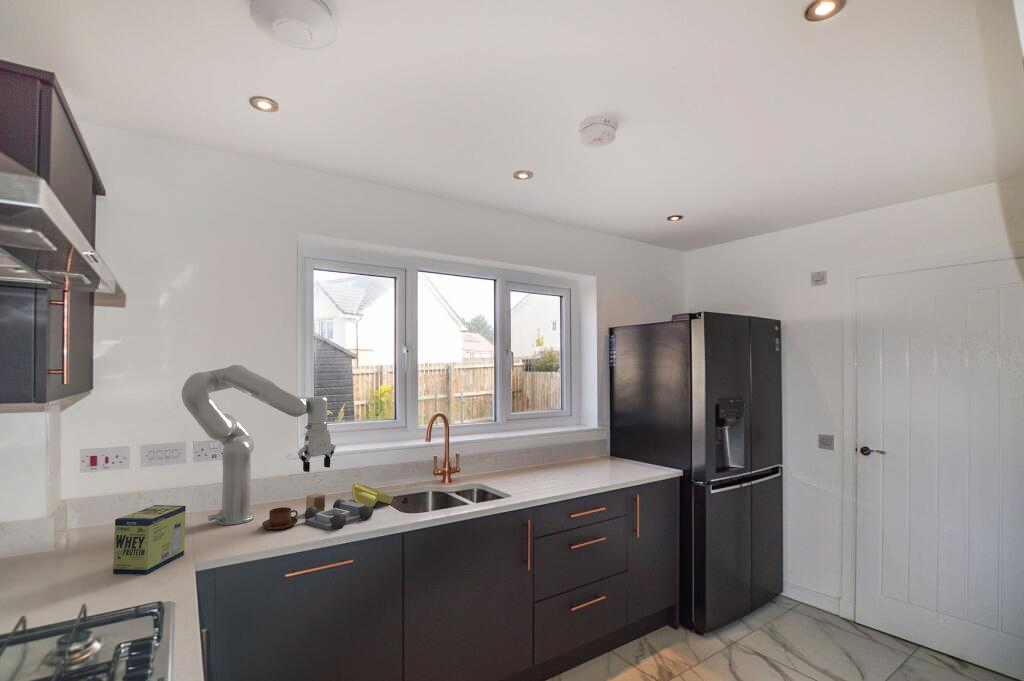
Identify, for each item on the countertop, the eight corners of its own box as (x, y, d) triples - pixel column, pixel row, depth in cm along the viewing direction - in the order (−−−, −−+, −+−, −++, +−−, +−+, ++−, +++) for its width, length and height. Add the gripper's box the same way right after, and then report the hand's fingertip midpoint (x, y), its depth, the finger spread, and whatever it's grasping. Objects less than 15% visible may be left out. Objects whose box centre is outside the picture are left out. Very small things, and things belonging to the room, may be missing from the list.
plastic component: (395, 498, 216) (377, 491, 209) (388, 515, 214) (370, 509, 207) (369, 486, 230) (351, 480, 223) (362, 503, 227) (344, 497, 220)
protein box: (111, 574, 142) (113, 519, 143) (153, 554, 158) (155, 504, 159) (146, 575, 142) (148, 519, 143) (185, 554, 157) (186, 504, 158)
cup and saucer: (284, 520, 193) (284, 503, 194) (304, 525, 187) (304, 508, 187) (254, 528, 183) (255, 511, 183) (274, 534, 177) (275, 516, 177)
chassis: (332, 531, 180) (332, 516, 180) (302, 522, 189) (302, 508, 190) (374, 516, 197) (375, 503, 197) (345, 510, 206) (345, 497, 207)
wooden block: (313, 515, 199) (314, 497, 199) (306, 513, 202) (306, 495, 202) (324, 512, 203) (324, 494, 204) (316, 510, 206) (317, 493, 206)
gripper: (304, 430, 195) (303, 474, 194) (340, 425, 210) (340, 466, 209) (292, 429, 199) (292, 472, 198) (329, 424, 214) (328, 464, 213)
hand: (316, 469), depth 204 cm, fingers open, 9 cm apart
